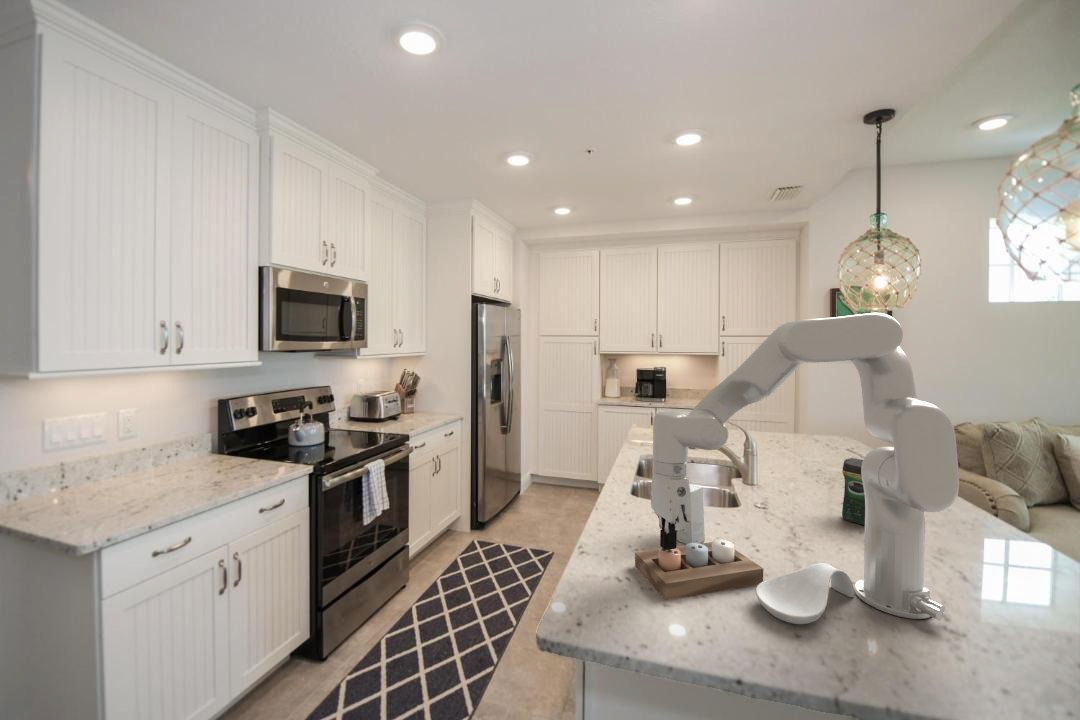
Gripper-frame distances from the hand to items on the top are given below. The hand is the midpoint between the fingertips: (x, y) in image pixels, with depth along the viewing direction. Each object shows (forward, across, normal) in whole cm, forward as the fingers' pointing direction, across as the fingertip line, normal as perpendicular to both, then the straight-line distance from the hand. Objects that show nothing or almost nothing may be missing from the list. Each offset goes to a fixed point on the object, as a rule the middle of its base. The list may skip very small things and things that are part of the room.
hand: (668, 547), depth 97 cm
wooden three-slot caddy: (+7, 0, -7) cm, 10 cm away
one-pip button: (+5, 0, -14) cm, 15 cm away
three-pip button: (+5, 0, 0) cm, 5 cm away
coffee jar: (+7, +14, -73) cm, 75 cm away
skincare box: (+7, +17, -15) cm, 24 cm away
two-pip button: (+5, 0, -7) cm, 9 cm away
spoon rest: (+7, -16, -22) cm, 28 cm away
